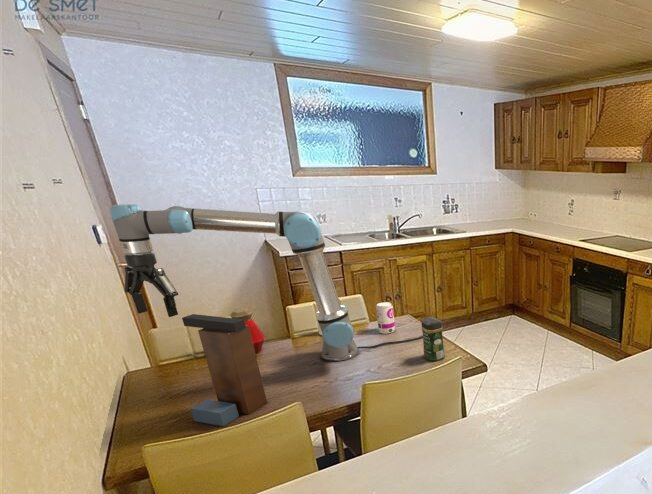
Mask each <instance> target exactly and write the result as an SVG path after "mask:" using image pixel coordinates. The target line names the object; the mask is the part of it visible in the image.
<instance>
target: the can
mask: <svg viewBox="0 0 652 494" xmlns="http://www.w3.org/2000/svg"><path fill="white" fill-rule="evenodd" d="M318 315H319V311H318V310H316V312H315V318H316V323H317V330H318V334H319V335H320V336H322V337H323V335H322V331H321V328H320V325H319V323H318V320H317V317H318Z"/></svg>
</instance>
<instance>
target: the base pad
mask: <svg viewBox="0 0 652 494" xmlns="http://www.w3.org/2000/svg"><path fill="white" fill-rule="evenodd" d="M190 411H191V415H192V417H193V421H194V422H198V423H202V424H203V423H204V424H207V425H208V424H209V425H215V426H221V427H224V426H226V425H228V424H230V423H231V422H233V421H235V420H236V419H237V418H239V417H240V415H239V414H240V413H238V410H237V407H236V404H233V403H226V402H220V401H218V400H214V399H205V400H203V401H201V402H200V403H197V404H196V405H193V406H192V407H190Z"/></svg>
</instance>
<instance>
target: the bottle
mask: <svg viewBox="0 0 652 494" xmlns="http://www.w3.org/2000/svg"><path fill="white" fill-rule="evenodd" d="M252 315H253V311H252V310H250V309H248V308H246V307H243V308H242V307H241V308H240V307H239V308H235V309H234V310H233V311H232V312H231V313H230V315H229V316H230V318H235V319H244V321H245V325H248V326H249V329H250V333H251V337H252V341H253V346H254V350H255V354H258V353H260V352H261V350H262V348H263V344H264V341H265V338H266V336H265V334H264V333H263V331H262V330H261V329H260V328H259V326H258V324H256V322H255V321H254V319H253V318H252Z"/></svg>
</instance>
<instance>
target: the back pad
mask: <svg viewBox="0 0 652 494" xmlns="http://www.w3.org/2000/svg"><path fill="white" fill-rule="evenodd" d="M181 321H182V323H183V326H184V327H189V328H197V329H203V328H206V329H215V330H224V331H232V332H237V331H239V330H242V329H244V328H246V325H245V321H244V319H235V318H231V317H224V316H216V315H205V314H195V313H192V314H188V315H186V316H183V317H181Z"/></svg>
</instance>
